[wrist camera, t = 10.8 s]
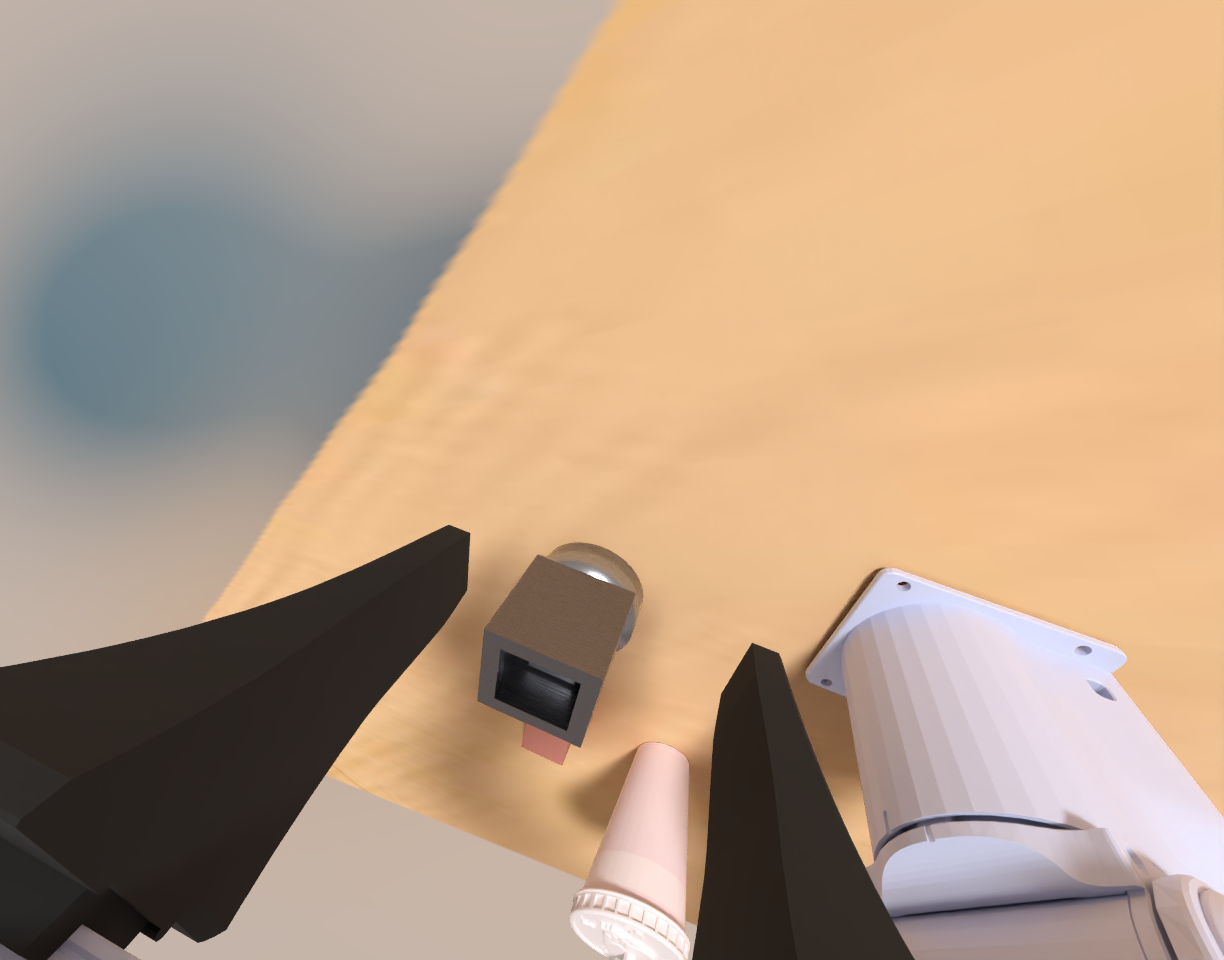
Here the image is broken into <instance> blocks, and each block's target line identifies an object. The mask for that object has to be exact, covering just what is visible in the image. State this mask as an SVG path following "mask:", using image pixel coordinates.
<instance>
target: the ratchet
mask: <svg viewBox="0 0 1224 960" xmlns="http://www.w3.org/2000/svg"><path fill="white" fill-rule="evenodd" d="M547 558H548V559H550V560H553V561H555V562H558V563H560V564H563V565H565V566H568V567H571V568H573V569H576V570H578V571H581V572H583V573H586V574H588V575H591V576H593V577H596V578H598V579H601V580H604V581H606V582H609V583H611V584H614V585H616V586H619V587H621V588H624V589H626V590H629V591H632V592H634V593H636V594H635V597H634V600H633V603H632V606H631V609H630V611H629V614H628V617H627V620H626V623H625V626H624V629H623V631H622V634H621V637H620V640H619V643H618V646H617V649H616V651H618V650H620V649H621V648H623V647H624V646H625V645H626V644H627V642H628V641H629V640H630V637H631V635H632V632H633V629H634V626H635V623H636V621H637V618H638V615H639V612H640V609H641V606H642V602H643V590H642V586H641V583H640V581H639V578H638V577H637V575H636V573H635V572H634V570H633V569H632V568H631V567H630V566H629V565H628V564H627V562H625V561H624V560H623V559H622V558H621V557H619V556H618V555H616V554H615V553H613V552H611V551H610V550H607V549H605V548H603V547H600V546H597V545H593V544H589V543H570V544H566V545H562V546H560V547H558V548H556V549H555V550H553V551H552V552H551V553H550V554H549V555H548V557H547ZM616 651H615V652H616ZM529 666H532V667H534V668H536V669H539V670H541V671H543V672H546V673H548V674H550V675H553V676H555V677H557V678H559V679H562V680H564V681H566V682H569V683H571V684H573V685H574V684H575V681H573V680H571V679H568V678H566V677H564V676H561V675H559V674H557V673H554V672H552V671H550V670H547V669H545V668H543V667H541V666H538V665H536V664H534V663H531V662H529ZM570 744H571V743H569V742H567V741H564V740H562V739H560V738H558V737H556V736H553V735H551V734H549V733H547V732H545V731H542V730H540V729H538V728H536V727H534V726H531V725H529V724H527V723H526V726H525V731H524V736H523V741H522V745H521V747H523V748H525V749H527V750H530V751H532V752H534V753H536V754H538V755H540V756H543V757H545V758H547V759H549V760H551V761H553V762H555V763H558V764H560V765H563V762H564V759H565V757H566V754H567V752H568V749H569V746H570Z"/></svg>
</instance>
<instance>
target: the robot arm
mask: <svg viewBox="0 0 1224 960" xmlns="http://www.w3.org/2000/svg"><path fill="white" fill-rule="evenodd" d="M469 546H470V533H469V532H466V531H463V530H461V529H458V528H456V527H453V526H451V525H447V526H445V527H443V528H441V529H439V530H437V531H434V532H432V533H430V534H428V535H426V536H424V537H422V538H420V539H418V540H416V541H414V542H412V543H410V544H408V545H406V546H403V547H401V548H399V549H397V550H395V551H393V552H391V553H389V554H387V555H385V556H382V557H380V558H378V559H376V560H374V561H372V562H369V563H367V564H365V565H363V566H361V567H359V568H356V569H354V570H352V571H349V572H347V573H345V574H342V575H340V576H337V577H335V578H333V579H330V580H328V581H326V582H323V583H321V584H318V585H316V586H313V587H311V588H308V589H306V590H303V591H301V592H298V593H295V594H292V595H290V596H287V597H284V598H281V599H278V600H275V601H272V602H270V603H267V604H264V605H261V606H258V607H255V608H252V609H249V610H246V611H242V612H239V613H235V614H232V615H228V616H225V617H222V618H218V619H215V620H211V621H208V622H204V623H201V624H198V625H194V626H191V627H188V628H184V629H180V630H176V631H172V632H168V633H164V634H160V635H156V636H152V637H148V638H144V639H139V640H135V641H131V642H126V643H122V644H118V645H114V646H109V647H104V648H99V649H95V650H90V651H85V652H80V653H75V654H69V655H65V656H59V657H54V658H48V659H43V660H38V661H33V662H28V663H22V664H17V665H11V666H5V667H0V960H140V959H138V958H137V957H135V956H133V955H132V954H130V953H128V952H127V951H125V950H124V949H125V948H126V947H127V946H128V945H129V944H130V942H131V941H132V940H133V939H134V938H135V937H136V936H137V934H138V933H139V932H141V933H143V934H144V935H146V936H148V937H149V938H151V939H152V940H154V941H156V942H157V941H158V940H160V939H161V938H162V937H163V936H164V935H165V934H166V933H167V931H168V930H169V929H170V928H171V927H172V928H174V929H176V930H177V931H179V932H181V933H182V934H184V935H186V936H187V937H189V938H191V939H192V940H194V941H196V942H197V943H199V942H203V941H205V940H208V939H210V938H212V937H214V936H216V935H218V934H220V933H221V932H223V931H225V930H226V929H227V928H228V926H229V924H230V923H231V921H232V919H233V918H234V916H235V914H236V913H237V911H238V909H239V908H240V906H241V905H242V903H243V901H244V899H245V898H246V897H247V895H248V893H249V892H250V890H251V888H252V887H253V885H254V884H255V882H256V880H257V879H258V877H259V876H260V874H261V872H262V871H263V869H264V867H265V866H266V864H267V863H268V861H269V859H270V858H271V856H272V855H273V853H274V851H275V850H276V848H277V847H278V845H279V844H280V842H281V841H282V839H283V838H284V836H285V834H286V833H287V832H288V830H289V829H290V827H291V825H292V824H293V822H294V821H295V819H296V818H297V816H298V815H299V813H300V812H301V810H302V809H303V807H304V806H305V804H306V803H307V801H308V800H309V798H310V797H311V795H312V794H313V792H314V790H315V789H316V788H317V786H318V785H319V784H320V782H321V781H322V779H323V777H324V776H325V775H326V773H327V772H328V770H329V769H330V768H331V766H332V765H333V763H334V762H335V760H336V759H337V757H338V756H339V754H340V753H341V752H342V750H343V749H344V747H345V746H346V745H347V743H348V742H349V740H350V739H351V738H352V736H353V735H354V733H355V732H356V731H357V729H358V728H359V727H360V725H361V724H362V722H363V721H364V720H365V718H366V717H367V716H368V714H369V713H370V712H371V711H372V709H373V708H374V707H375V705H376V704H377V703H378V702H379V700H380V699H381V698H382V697H383V696H384V695H385V693H386V692H387V691H388V690H389V689H390V688H391V686H392V685H393V684H394V683H395V682H396V681H397V679H398V678H399V677H400V676H401V675H402V674H403V672H404V671H405V670H406V669H407V668H408V667H409V665H410V664H411V663H412V662H413V661H414V660H415V658H416V657H417V656H418V655H419V654H420V653H421V651H422V650H423V649H424V648H425V647H426V645H427V644H428V643H429V642H430V641H431V640H432V638H433V637H434V636H435V635H436V634H437V632H438V631H439V630H440V629H441V628H442V626H443V625H444V624H445V623H446V621H447V620H448V618H449V617H450V615H451V614H452V612H453V611H454V609H455V608H456V606H457V605H458V603H459V602H460V600H461V599H462V597H463V596H464V594H465V592H466V591H467V583H468V564H469ZM900 582H908V583H907V584H905V585H897V584H898V583H900ZM1079 646H1083V647H1079ZM1077 647H1079V648H1077ZM1126 660H1127V657H1126V656H1125V654H1124V653H1123V652H1122V651H1121V649H1120V648H1118V647H1116V646H1114V645H1112V644H1109V643H1106V642H1103V641H1100V640H1097V639H1094V638H1092V637H1089V636H1086V635H1083V634H1080V633H1077V632H1075V631H1072V630H1069V629H1066V628H1063V627H1060V626H1058V625H1055V624H1052V623H1049V622H1046V621H1043V620H1041V619H1038V618H1035V617H1032V616H1029V615H1026V614H1024V613H1021V612H1018V611H1015V610H1012V609H1009V608H1007V607H1004V606H1001V605H998V604H995V603H992V602H989V601H987V600H984V599H981V598H978V597H975V596H972V595H970V594H967V593H964V592H961V591H958V590H955V589H953V588H950V587H947V586H944V585H941V584H938V583H936V582H933V581H930V580H927V579H924V578H921V577H919V576H916V575H913V574H910V573H907V572H904V571H901V570H899V569H896V568H885V569H882V570H880V571H879V572H878V573H877V575H876V576H875V577H874V579H873V580H872V581H871V583H870V584H869V585H868V587H867V588H866V589H865V591H864V592H863V593H862V595H861V596H860V598H859V599H858V600H857V602H856V603H855V604H854V606H853V607H852V608H851V610H850V611H849V612H848V614H847V615H846V616H845V618H844V619H843V620H842V622H841V623H840V625H839V626H838V627H837V629H836V630H835V631H834V633H833V634H832V635H831V637H830V638H829V639H828V641H827V642H826V643H825V645H824V646H823V647H822V649H821V650H820V651H819V653H818V654H817V656H816V657H815V658H814V660H813V661H812V662H811V664H810V665H809V666H808V668H807V669H806V671H805V673H806V679H807V680H808V682H810V683H812V684H814V685H817V686H819V687H822V688H824V689H827V690H829V691H832V692H834V693H837V694H839V695H842V696H844V697H846V698H847V704H848V710H849V716H850V722H851V728H852V734H853V740H854V746H855V751H856V757H857V763H858V769H859V775H860V781H861V787H862V793H863V799H864V805H865V811H866V817H867V823H868V829H869V834H870V840H871V846H872V852H873V858H874V863H873V864H872V865H870V866H868V867H866V868H865V866H864V864H863V862H862V860H861V858H860V856H859V854H858V852H857V850H856V848H855V846H854V843H853V841H852V839H851V837H850V835H849V833H848V831H847V828H846V826H845V824H844V822H843V820H842V818H841V815H840V813H839V811H838V808H837V806H836V804H835V802H834V799H833V797H832V795H831V792H830V790H829V788H828V785H827V783H826V781H825V778H824V776H823V773H822V771H821V769H820V766H819V763H818V761H817V758H816V756H815V753H814V751H813V748H812V745H811V743H810V740H809V738H808V735H807V733H806V730H805V727H804V724H803V722H802V719H801V716H800V713H799V710H798V708H797V705H796V702H795V699H794V696H793V693H792V690H791V687H790V684H789V681H788V678H787V675H786V672H785V669H784V666H783V663H782V660H781V657H780V655H779V653H777V652H774V651H772V650H769V649H766V648H764V647H761V646H759V645H756V644H754V643H752V644H751V646H750V647H749V649H748V651H747V652H746V654H745V655H744V657H743V659H742V660H741V662H740V664H739V665H738V667H737V669H736V670H735V672H734V674H733V675H732V677H731V679H730V680H729V682H728V684H727V685H726V687H725V689H724V690H723V692H722V694H721V698H720V704H719V709H718V715H717V720H716V726H715V733H714V739H713V753H712V769H711V786H710V804H709V821H708V839H707V854H706V865H705V876H704V883H703V890H702V897H701V904H700V911H699V918H698V925H697V933H696V939H695V945H694V951H693V958H692V960H1224V818H1223V816H1222V815H1221V814H1220V812H1219V811H1218V810H1217V809H1216V807H1215V806H1214V805H1213V803H1212V802H1211V801H1210V800H1209V798H1208V797H1207V796H1206V795H1205V793H1204V792H1203V791H1202V789H1201V788H1200V787H1199V786H1198V784H1197V783H1196V782H1195V780H1194V779H1193V778H1192V777H1191V775H1190V774H1189V773H1188V771H1187V770H1186V769H1185V768H1184V766H1183V765H1182V764H1181V762H1180V761H1179V760H1178V759H1177V757H1176V756H1175V755H1174V753H1173V752H1172V751H1171V750H1170V748H1169V747H1168V746H1167V745H1166V743H1165V742H1164V741H1163V739H1162V738H1161V737H1160V736H1159V734H1158V733H1157V732H1156V730H1155V729H1154V728H1153V727H1152V725H1151V724H1150V723H1149V721H1148V720H1147V719H1146V718H1145V716H1144V715H1143V714H1142V712H1141V711H1140V710H1139V709H1138V707H1137V706H1136V705H1135V703H1134V702H1133V701H1132V700H1131V698H1130V697H1129V696H1128V694H1127V693H1126V692H1125V691H1124V689H1123V688H1122V687H1121V686H1120V684H1119V683H1118V682H1117V680H1116V679H1115V678H1114V677H1113V675H1112V674H1111V673H1113V672H1114V671H1115V670H1117V669H1118V668H1119V667H1121V666H1122V665H1123V664H1124V663H1125V662H1126ZM825 679H829V680H825Z"/></svg>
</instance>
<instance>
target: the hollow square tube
mask: <svg viewBox="0 0 1224 960" xmlns="http://www.w3.org/2000/svg"><path fill="white" fill-rule="evenodd" d="M635 594H636V593H634V592H632V591H629V590H626V589H624V588H621V587H619V586H616V585H614V584H611V583H609V582H606V581H604V580H601V579H598V578H596V577H593V576H591V575H588V574H586V573H583V572H581V571H578V570H576V569H573V568H571V567H568V566H565V565H563V564H560V563H558V562H555V561H553V560H550V559H548V558H545V557H543V556H540V555H537V557H536V558H535V559H534V561H533V562H532V564H531V565H530V566H529V568H528V569H527V571H526V572H525V573H524V575H523V576H522V577H521V579H520V580H519V582H518V583H517V584H516V586H515V587H514V589H513V590H512V591H511V593H510V594H509V596H508V597H507V598H506V600H505V601H504V603H503V604H502V605H501V607H500V608H499V609H498V611H497V612H496V614H495V615H494V616H493V618H492V619H491V621H490V622H489V623H488V625H487V626H486V628H485V629H484V638H483V648H482V659H481V670H480V681H479V691H478V701H479V702H481V703H483V704H485V705H487V706H490V707H492V708H494V709H496V710H498V711H501V712H503V713H505V714H507V715H509V716H512V717H514V718H516V719H518V720H520V721H523V722H525V723H527V724H529V725H531V726H534V727H536V728H538V729H540V730H542V731H545V732H547V733H549V734H551V735H553V736H556V737H558V738H560V739H562V740H564V741H567V742H569V743H571V744H573V745H575V746H578V747H581V745H582V742H583V739H584V736H585V734H586V731H587V728H588V726H589V723H590V720H591V717H592V715H593V712H594V709H595V706H596V704H597V701H598V698H599V695H600V693H601V690H602V687H603V685H604V682H605V679H606V676H607V674H608V671H609V668H610V665H611V663H612V660H613V657H614V654H615V651H616V649H617V646H618V643H619V640H620V637H621V634H622V631H623V629H624V626H625V623H626V620H627V617H628V614H629V611H630V609H631V606H632V603H633V600H634V597H635ZM529 662H531V663H534V664H536V665H538V666H541V667H543V668H545V669H547V670H550V671H552V672H554V673H557V674H559V675H561V676H564V677H566V678H568V679H571V680H573V681H575V684H574V685H573V684H571V683H569V682H566V681H564V680H562V679H559V678H557V677H555V676H553V675H550V674H548V673H546V672H543V671H541V670H539V669H536V668H534V667H532V666H529Z"/></svg>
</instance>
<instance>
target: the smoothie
mask: <svg viewBox="0 0 1224 960" xmlns="http://www.w3.org/2000/svg"><path fill="white" fill-rule="evenodd" d="M688 798H689V762H688V760H687V759H686V757H685V756H684V755H683V754H682V753H681V752H679V751H678V750H676V749H675V748H673V747H671V746H668V745H666V744H662V743H657V742H648V743H644V744H642V745H640V746H639V747H638V749H637V752H636V754H635V757H634V759H633V762H632V765H631V767H630V770H629V772H628V775H627V777H626V780H625V782H624V785H623V788H622V790H621V793H620V795H619V798H618V800H617V803H616V806H615V808H614V811H613V813H612V816H611V818H610V821H609V823H608V826H607V829H606V831H605V834H604V836H603V839H602V841H601V844H600V847H599V849H598V852H597V854H596V856H595V859H594V861H593V864H592V867H591V869H590V872H589V875H588V877H587V880H586V883H585V885H584V888H583V889H580V890H579V891H578V892H576V893H575V895H574V899H573V902H574V903H573V906H572V910H571V913H570V916H569V921H570V925H571V927H572V929H573V930H574V931H575V933H576V934H577V935H578V936H579V937H580V938H581V939H582V940H583V941H584V942H585V943H586V944H587V945H589V946H590V947H591V948H593V949H594V950H596V951H597V952H599V953H600V954H602V955H603V956H605V957H607V958H609V959H610V960H688V952H689V950H690V940H689V938H688V937H687V935H686V933H685V912H686V873H687V835H688Z"/></svg>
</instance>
